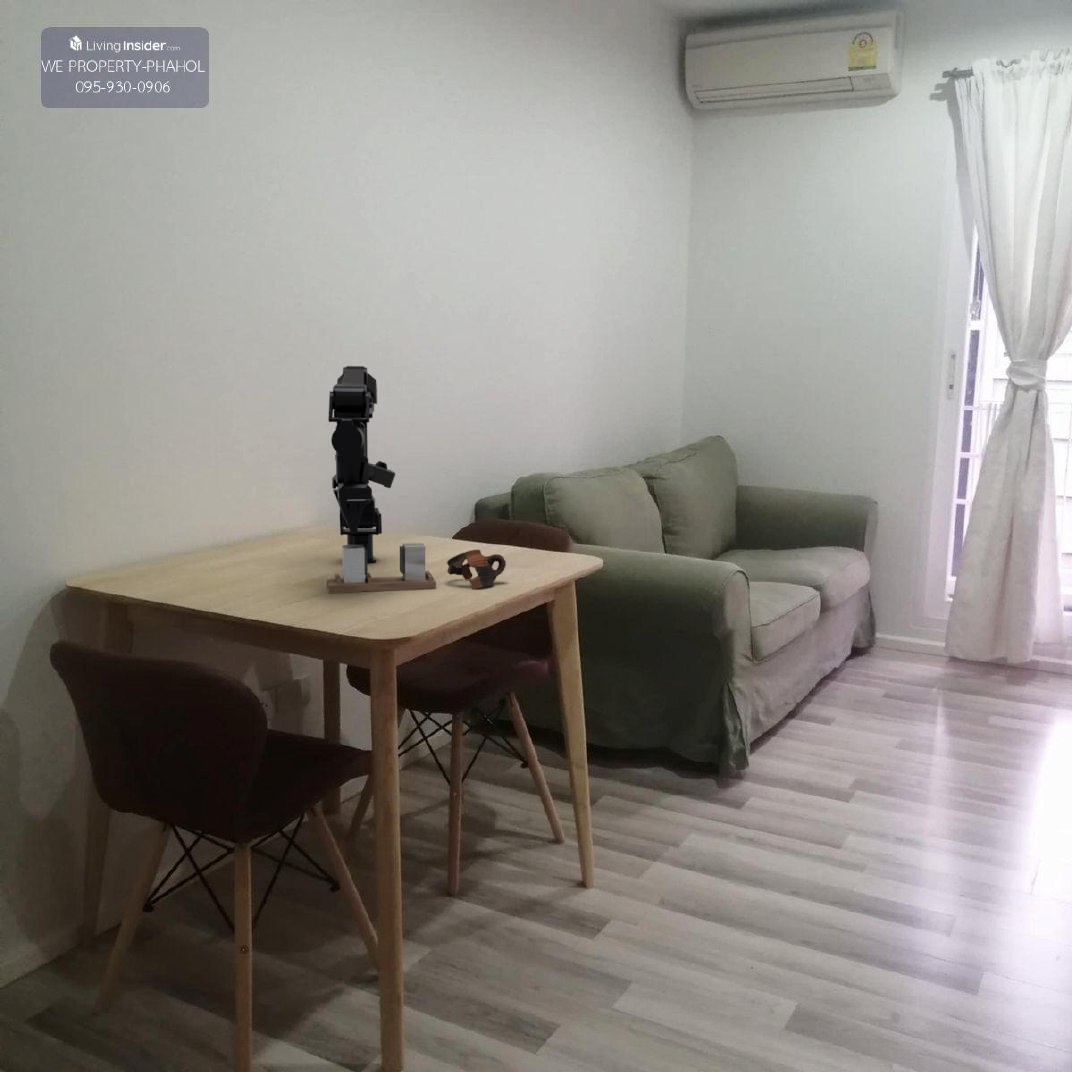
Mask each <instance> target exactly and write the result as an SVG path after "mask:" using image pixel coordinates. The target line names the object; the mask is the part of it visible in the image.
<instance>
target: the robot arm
mask: <svg viewBox="0 0 1072 1072" xmlns="http://www.w3.org/2000/svg"><path fill="white" fill-rule="evenodd" d="M328 397H329V398H328V399H329V400H328V423H336V426H335V430H334V431H333V432H332V436H331V439H330V440H331V445H332V448H333V449H334V451H335V454H334V459H335V471H336V472H335V475H333V477H332V478H331V488H332V492H333V494H334V497H335V499H336V502H337V504H338V506H339V530H340V533H339V535H340V536H345V535H346V538H347V539H346V541H347V542H346V545H363V546H364V547H366V549H367V563H376V562H377V558H376V556H374V535H375V536H378V535H380V534H381V535H382V533H383V529H382V527H383V526H382V525H383V524H382V513H381V512H380V511H379V508H378V507H376V499H375V497H374V496H373V490H372V487H371V486H369V484H370V482H373V483H374V484H375V483H376V484H379V485H381V486H383V487H384V488H387V489H391V487H392V485H393V482H394V480H395V477H396V473H395V472H394V471H393V470H392V469H388V464H387V463H386V462H383V461H381V460H378V461H377V462H376V463H375V464H373V463H370V462H369V455H368V453H369V451H368V446H369V445H368V444H369V443H368V423H370V419H373V417H374V416H373V415H374V414H373V413H375V412H374V411H375V405H378V385H377V379H376V378H374V377H373V376H372V375H371V374H370V373H369V372H368V367H365V365H364V366H362V365H347V366H345V367H343V369H342V374H341V375H340V376H339V377H338V378H337V380H336V384H334V386H333V387H332V390H331V391H329V396H328Z"/></svg>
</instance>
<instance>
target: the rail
mask: <svg viewBox="0 0 1072 1072" xmlns="http://www.w3.org/2000/svg"><path fill="white" fill-rule="evenodd" d="M401 543H402V542H401ZM399 571H400V573H401V574H402V575H401V576H400V575H399V576H397V575H396V576H379V577H378V576H377V577H372V575H371V574H370V572H368V575H365V583H355V584H344V582H343V578H341V575H340V573H334V578H328V579H326V587H327V591H328V593H329V594H341V593H342V594H343V593H362V591H371V592H390V591H392V590H395V591H409V590H408V589H419V590H435V589H434V588H436V589H437V581H436V580H435V577H434V576H433V574H432V573H431V572H430V571H429V570H426V545H425V544H424V543H423V542H406V543H402V544H401V545H400V546H399ZM388 590H389V591H388Z"/></svg>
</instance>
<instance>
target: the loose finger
mask: <svg viewBox="0 0 1072 1072" xmlns="http://www.w3.org/2000/svg"><path fill="white" fill-rule="evenodd" d="M341 547H342V548H341V549H342V551H341V552H342V553H341V554H342V555H341V556H342V557H341V558H342V561H341V563H342V579H343V582H344V584H355V583H365V575H368V573H369V571H368V568H369V567H368V562H367V549H366V547H364V546H363V545H347V544H342V545H341Z"/></svg>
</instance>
